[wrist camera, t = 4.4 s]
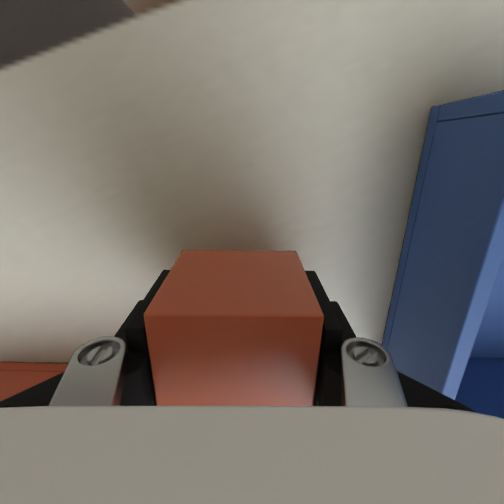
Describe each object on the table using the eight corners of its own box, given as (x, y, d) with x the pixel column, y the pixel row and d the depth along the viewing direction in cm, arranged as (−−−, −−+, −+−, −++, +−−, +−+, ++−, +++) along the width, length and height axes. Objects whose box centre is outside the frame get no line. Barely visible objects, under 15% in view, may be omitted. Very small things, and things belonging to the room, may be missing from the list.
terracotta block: (182, 249, 11) (141, 314, 7) (296, 250, 11) (325, 315, 7) (190, 342, 13) (161, 441, 9) (289, 343, 13) (309, 440, 9)
